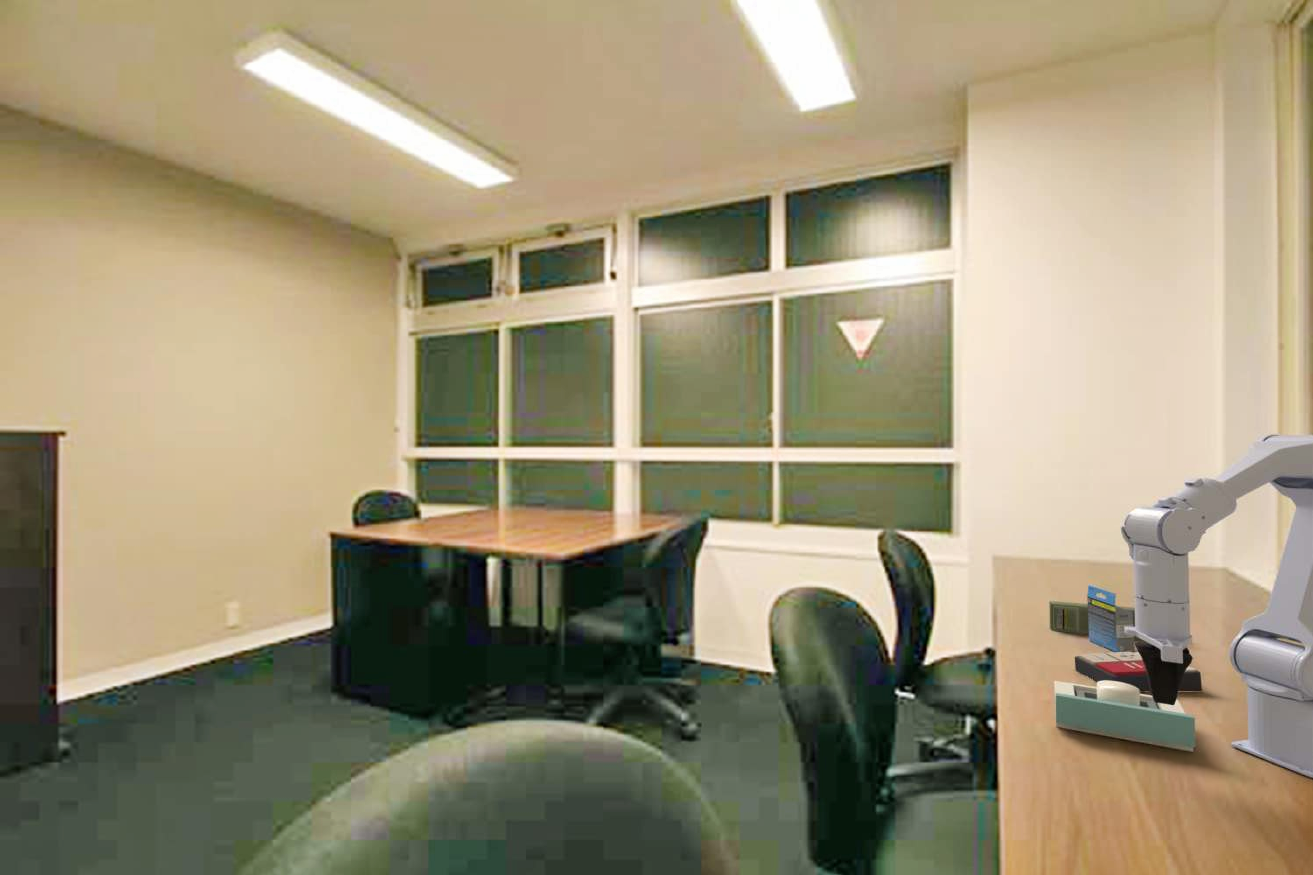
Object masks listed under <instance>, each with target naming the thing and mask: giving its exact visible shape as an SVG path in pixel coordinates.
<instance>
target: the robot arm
mask: <svg viewBox="0 0 1313 875" xmlns="http://www.w3.org/2000/svg"><path fill="white" fill-rule="evenodd" d="M1268 483H1269V484H1271V486H1272V487H1273V488H1275V489H1276V490H1277V491H1278V492H1279V493H1280V495H1281V496H1284V497H1286V498H1288V499H1290V500H1291V501H1292V502H1293V504H1294V506H1295V508H1294V512H1293V517H1292V519H1291V523H1290V526H1289V531H1288V534H1287V538H1286V540H1285V544H1284V548H1283V552H1282V554H1281V557H1280V558H1281V559H1280V563H1279V566H1278V569H1277V572H1276V575H1275V579H1274V582H1273V583H1274V584H1273V586H1272V590H1271V593H1270V598H1269V601H1268V604H1267V607H1266V611H1264V612H1263V613H1260V614H1258V615H1255V616H1252V617H1250V618H1249V619H1246V620H1244V621H1243V622H1242V626H1241V630H1240V632H1239V633H1238V635H1236V636H1235V638H1234V639H1233V640H1232V642H1231V644H1230V646H1229V652H1228V653H1229V660H1230V663H1231V665H1232V667H1233V669H1234V670H1235V671H1236V672H1237V673H1239V674H1240V681H1241V682H1243V683H1246V694H1247V695H1246V697H1247V698H1246V702H1247V704H1246V705H1247V736H1248V737H1247V739H1244V740H1236V741H1231V746H1232V747H1233V748H1236V749H1239V750H1242V751H1244V752H1246V753H1248V754H1250V755H1254V756H1256V757H1259V758H1262V759H1263V760H1267V761H1269V762H1270V763H1274V764H1275V765H1279V766H1281V767H1284V768H1286V769H1289V770H1291V771H1293V772H1296V773H1299V774H1301V775H1304V776H1306V777H1308V778H1312V779H1313V434H1292V435H1291V434H1289V435H1288V434H1287V435H1286V434H1285V435H1284V434H1283V435H1281V434H1280V435H1279V434H1267V435H1264V436H1262V437H1261V438H1260V439H1258V440H1257V441H1255V442H1252V443H1251V444H1250V445H1249V449H1248V453H1247V454H1245V455H1244V456H1242V457H1241V458H1240V459H1238V460H1237V461H1236V462H1234V463H1233V464H1232V465H1230V466H1229V467H1228V468H1226V469H1225V470H1224V471H1222V472H1221V473H1219V474H1218V475H1216V476H1215V477H1214V478H1209V477H1199V478H1197V477H1190V478H1188V479H1187V480H1185V481H1184V483H1183V484H1184V486H1183V487H1181V488H1179V489H1178V490H1176V491H1174V492H1173V493H1171V494H1169V495H1168V496H1162V497H1161V498H1159V499H1158V500H1157V502H1156V503H1155V504H1154V505H1153V506H1139V507H1136V508H1134V509H1133V510H1132V511H1130V512H1129V513H1128V514H1127V516H1126V517H1125V519H1124V523H1123V525H1121V526H1120V532H1121V535H1122V539H1123V540H1124V541H1125V543H1127V545H1128V551H1129V556H1130V558H1131V560H1132V561H1133V585H1134V586H1133V589H1134V591H1133V592H1134V594H1133V596H1134V597H1133V598H1134V608H1135V627H1127V626H1126V627H1124V632H1125V634H1127V635H1134V636H1136V637H1138V638H1140V639H1139V640H1142V641H1144V642H1140V641H1139V642H1138V641H1137V642H1134V647H1135V648H1136V650H1137V652H1139V654H1140V655H1141V657H1142V660H1143V663H1144V666H1145V669H1146V673H1147V677H1148V682H1149V687H1150V691H1151V692H1150V694H1151V696H1152V697H1153V699H1154V701H1155V702H1156V703H1162V704H1168V705H1174V704H1175V702H1176V699H1177V700H1178V695H1179V692H1178V691H1179V686H1180V682H1181V679H1182V677H1183V674H1184V672H1185V670H1186V669H1187V667H1188V666H1189V667H1190V665H1191V664H1192V662H1193V659H1194V658H1193V655H1192V654H1191V653H1190V650H1189V649H1188V648H1187V647H1189V646H1190V645H1191V644H1192V643H1193V635H1192V634H1191V618H1190V617H1191V616H1190V614H1191V612H1190V611H1191V610H1190V608H1191V607H1190V571H1189V570H1190V569H1189V567H1190V566H1189V553H1190V552H1194V551H1196V549H1197V548H1198V546H1199V545H1200V542H1201V540H1202V537H1203V535H1205V534H1206V531H1207V530H1208V529H1210V528H1211V527H1213V526H1214V525H1216V524H1218V523H1219V522H1221V521H1222V520H1224V519H1225V518H1227V517H1229V516H1230V515H1232V514H1233V513H1234V512H1235V511H1236V510H1237V504H1238V503H1237V500H1238V499H1240V498H1243V497H1244V496H1246V495H1248V494H1249V493H1251V492H1254V491H1255V490H1257V489H1259V488H1260V487H1263V486H1265V485H1267V484H1268ZM1280 639H1281V640H1280ZM1283 639H1284V640H1283ZM1285 640H1287V641H1285ZM1288 641H1291V642H1288ZM1292 642H1296V643H1299V644H1296V643H1292ZM1300 644H1302V645H1300Z"/></svg>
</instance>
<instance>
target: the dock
mask: <svg viewBox="0 0 1313 875" xmlns="http://www.w3.org/2000/svg"><path fill="white" fill-rule="evenodd" d="M1053 686H1054V687H1053V689H1054V690H1053V696H1054V701H1053V702H1054V714H1055V718H1056V693H1060V694H1067V695H1073V696H1076V689H1079V690H1086V691H1092V692H1097V686H1093V685H1092V686H1091V685H1084V684H1079V683H1072V682H1066V681H1065V682H1064V681H1059V680H1054V681H1053ZM1140 699H1143V700H1150V701H1154V699H1153V697H1152V694H1151V695H1149V694H1145V693H1144V694H1143V693H1140ZM1154 702H1155V701H1154ZM1155 704H1156V706H1157V708H1158V709H1160V710H1166V711H1172V712H1178V713H1184V714H1186V712H1185V710H1184V708H1183V706H1182V705H1181V703H1180V701H1179V700H1178V698H1177V699H1176V702H1175V704H1174V705H1168V704H1162V703H1156V702H1155ZM1055 728H1061V729H1065V730H1066V729H1067V730H1073V731H1078V732H1083V733H1089V734H1093V735H1094V734H1095V735H1100V736H1105V737H1111V738H1115V739H1120V740H1121V739H1122V740H1127V741H1133V742H1138V743H1143V744H1149V745H1154V746H1159V747H1164V748H1169V749H1176V750H1180V751H1186V752H1191V753H1193V752H1194V747H1188V746H1183V745H1177V744H1172V743H1166V742H1161V741H1155V740H1150V739H1144V738H1139V737H1133V736H1128V735H1122V734H1117V733H1111V732H1106V731H1100V730H1095V729H1089V728H1084V727H1078V726H1073V725H1067V724H1062V723H1056V722H1055Z"/></svg>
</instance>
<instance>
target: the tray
mask: <svg viewBox="0 0 1313 875" xmlns="http://www.w3.org/2000/svg"><path fill="white" fill-rule="evenodd" d="M1195 720H1196V718H1195V716H1194V715H1193V714H1191V713H1185V714H1184V713H1178V712H1172V711H1166V710H1160V709H1158V708H1157V706H1156V704H1155V702H1154V701H1150V700H1143V699H1140V706H1135V705H1129V704H1122V703H1116V702H1110V701H1104V700H1098V699H1097V692H1092V691H1086V690H1079V689H1076V696H1073V695H1067V694H1060V693H1056V717H1055V724H1056V723H1062V724H1067V725H1073V726H1078V727H1084V728H1089V729H1095V730H1100V731H1106V732H1111V733H1117V734H1122V735H1128V736H1133V737H1139V738H1144V739H1150V740H1155V741H1161V742H1166V743H1172V744H1177V745H1183V746H1188V747H1193V749H1194V748H1196V723H1195V722H1196V721H1195Z"/></svg>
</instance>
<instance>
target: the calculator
mask: <svg viewBox="0 0 1313 875" xmlns="http://www.w3.org/2000/svg"><path fill="white" fill-rule="evenodd" d="M1074 667H1075V672H1078V673H1079V674H1081V675H1082V676H1085V675H1086V676H1088V677H1089V678H1088V677H1087V678H1088V679H1090V678H1091V679H1090V680H1092V679H1093V680H1092V681H1094V682H1096V683H1097V682H1098V681H1104V680H1107V681H1117V682H1122V683H1126V684H1130V685H1132V686H1135V687H1137V688H1138V689H1139V691H1150V687H1149V682H1148V677H1147V673H1146V669H1145V666H1144V663H1143V660H1142V657H1141V655H1140V654H1139V652H1138V651H1135V652H1134V653H1133V652H1114V651H1111V652H1106V653H1103V652H1101V653H1100V652H1095V653H1092V652H1091V653H1079V654H1078V655H1077V656H1074ZM1201 674H1202V673H1201V672H1200V671H1199V670H1197V669H1196V668H1194V667H1192V666H1190V665H1189V666H1188V667H1187V669H1186V670H1185V672H1184V674H1183V677H1182V679H1181V682H1180V686H1179V691H1202V692H1203V686H1202V675H1201ZM1086 676H1085V677H1086Z"/></svg>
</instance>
